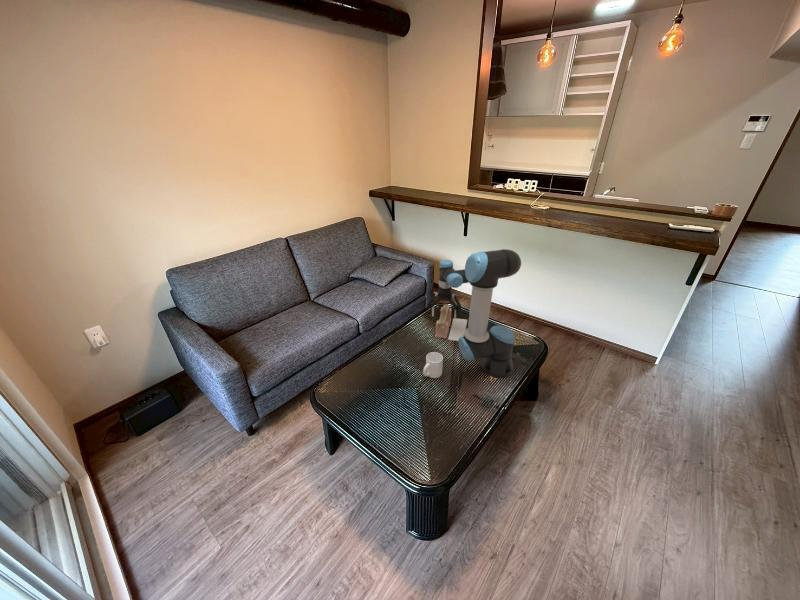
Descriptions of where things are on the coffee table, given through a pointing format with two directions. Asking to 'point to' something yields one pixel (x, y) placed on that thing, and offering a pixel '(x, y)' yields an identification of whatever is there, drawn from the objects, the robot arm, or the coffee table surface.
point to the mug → (433, 365)
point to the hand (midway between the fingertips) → (443, 317)
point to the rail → (443, 316)
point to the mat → (457, 329)
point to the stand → (444, 332)
